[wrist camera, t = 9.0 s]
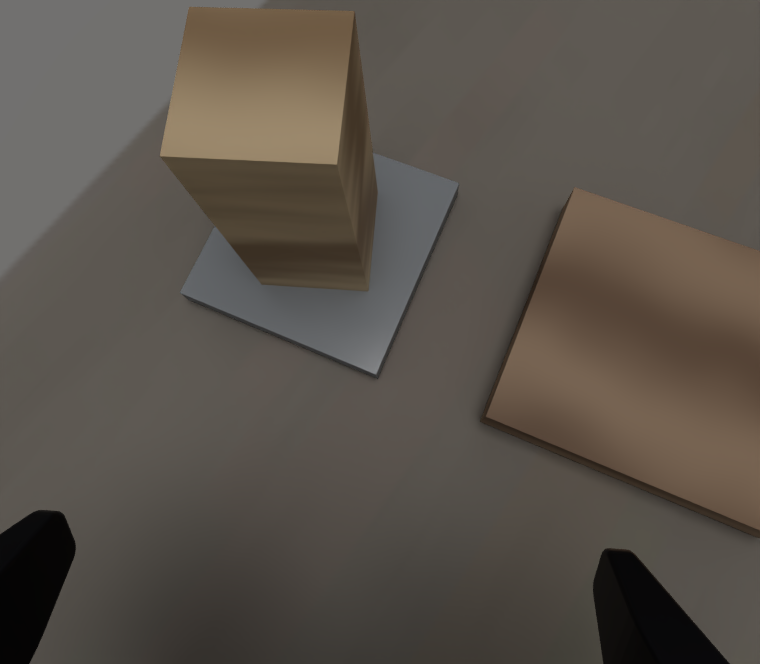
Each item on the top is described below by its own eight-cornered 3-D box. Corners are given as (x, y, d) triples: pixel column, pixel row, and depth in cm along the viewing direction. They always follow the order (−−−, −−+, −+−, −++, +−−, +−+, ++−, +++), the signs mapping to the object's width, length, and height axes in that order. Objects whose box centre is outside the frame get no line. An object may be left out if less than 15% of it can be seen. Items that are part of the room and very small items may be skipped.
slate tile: (377, 378, 24) (375, 374, 23) (188, 299, 25) (179, 292, 24) (457, 194, 26) (459, 183, 25) (277, 129, 27) (272, 116, 26)
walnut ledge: (757, 537, 22) (790, 542, 20) (479, 421, 23) (485, 416, 21) (821, 300, 24) (857, 285, 22) (562, 209, 25) (574, 187, 23)
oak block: (368, 291, 24) (336, 164, 14) (261, 284, 24) (159, 156, 15) (377, 191, 25) (354, 11, 15) (275, 186, 25) (189, 6, 16)
